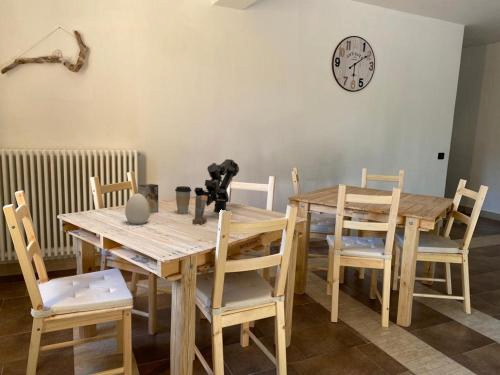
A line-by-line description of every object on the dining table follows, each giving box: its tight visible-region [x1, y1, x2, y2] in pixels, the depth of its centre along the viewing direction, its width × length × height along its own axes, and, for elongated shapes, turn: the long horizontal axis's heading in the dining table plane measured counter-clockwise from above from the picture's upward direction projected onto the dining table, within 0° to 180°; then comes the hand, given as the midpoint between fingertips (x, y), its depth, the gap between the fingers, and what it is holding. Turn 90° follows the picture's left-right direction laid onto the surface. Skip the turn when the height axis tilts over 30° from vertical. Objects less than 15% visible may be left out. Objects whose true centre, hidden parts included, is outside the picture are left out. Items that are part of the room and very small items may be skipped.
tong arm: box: [201, 195, 208, 218], centre depth 201 cm, size 1×3×12 cm, turn 74°
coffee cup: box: [174, 186, 192, 215], centre depth 221 cm, size 9×9×15 cm
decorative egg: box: [124, 193, 151, 225], centre depth 194 cm, size 12×12×15 cm
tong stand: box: [192, 195, 208, 226], centre depth 198 cm, size 7×5×15 cm
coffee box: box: [138, 183, 159, 214], centre depth 218 cm, size 9×6×16 cm
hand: (207, 205), depth 207 cm, fingers closed
